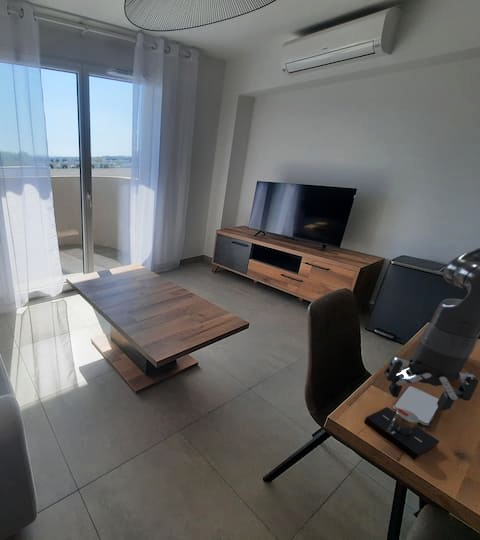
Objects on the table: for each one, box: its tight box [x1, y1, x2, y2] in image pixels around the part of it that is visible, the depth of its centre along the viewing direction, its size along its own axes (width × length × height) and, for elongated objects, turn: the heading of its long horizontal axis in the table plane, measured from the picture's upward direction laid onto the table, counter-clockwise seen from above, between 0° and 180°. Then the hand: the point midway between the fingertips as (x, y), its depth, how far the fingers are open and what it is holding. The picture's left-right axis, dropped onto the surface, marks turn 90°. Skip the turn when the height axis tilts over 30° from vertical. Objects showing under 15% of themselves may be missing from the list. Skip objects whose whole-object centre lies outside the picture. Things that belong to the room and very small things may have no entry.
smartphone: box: [392, 385, 439, 426], centre depth 82 cm, size 7×1×15 cm
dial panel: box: [363, 406, 440, 461], centre depth 74 cm, size 11×9×2 cm
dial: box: [391, 408, 419, 435], centre depth 72 cm, size 4×4×5 cm
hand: (416, 401), depth 69 cm, fingers open, 8 cm apart
